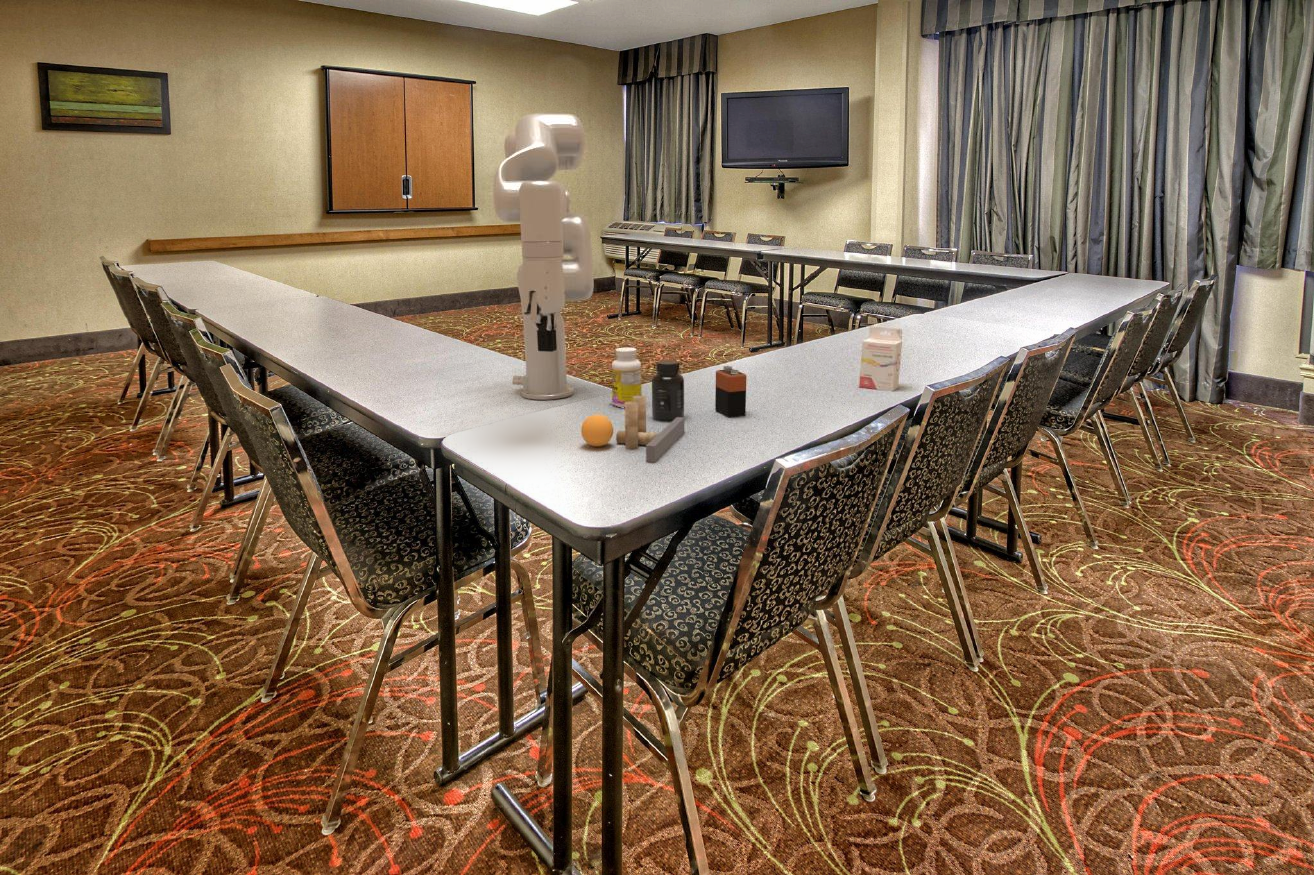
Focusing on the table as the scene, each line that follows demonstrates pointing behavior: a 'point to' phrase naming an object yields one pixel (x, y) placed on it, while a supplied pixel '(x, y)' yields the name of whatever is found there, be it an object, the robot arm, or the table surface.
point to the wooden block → (642, 437)
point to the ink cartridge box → (881, 359)
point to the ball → (597, 430)
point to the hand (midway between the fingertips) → (547, 350)
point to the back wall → (664, 440)
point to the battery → (730, 392)
